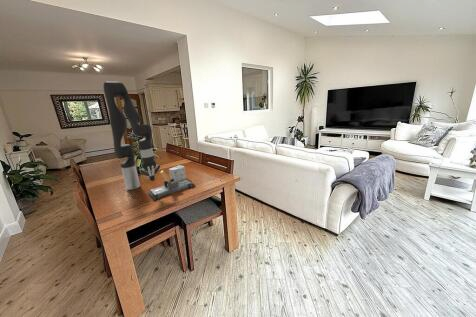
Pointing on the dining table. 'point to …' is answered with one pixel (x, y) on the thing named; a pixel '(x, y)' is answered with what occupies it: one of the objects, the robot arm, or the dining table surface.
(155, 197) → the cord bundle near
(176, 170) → the light bulb box
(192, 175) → the dining table surface
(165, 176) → the breaker lever
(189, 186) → the cord bundle far
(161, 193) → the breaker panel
